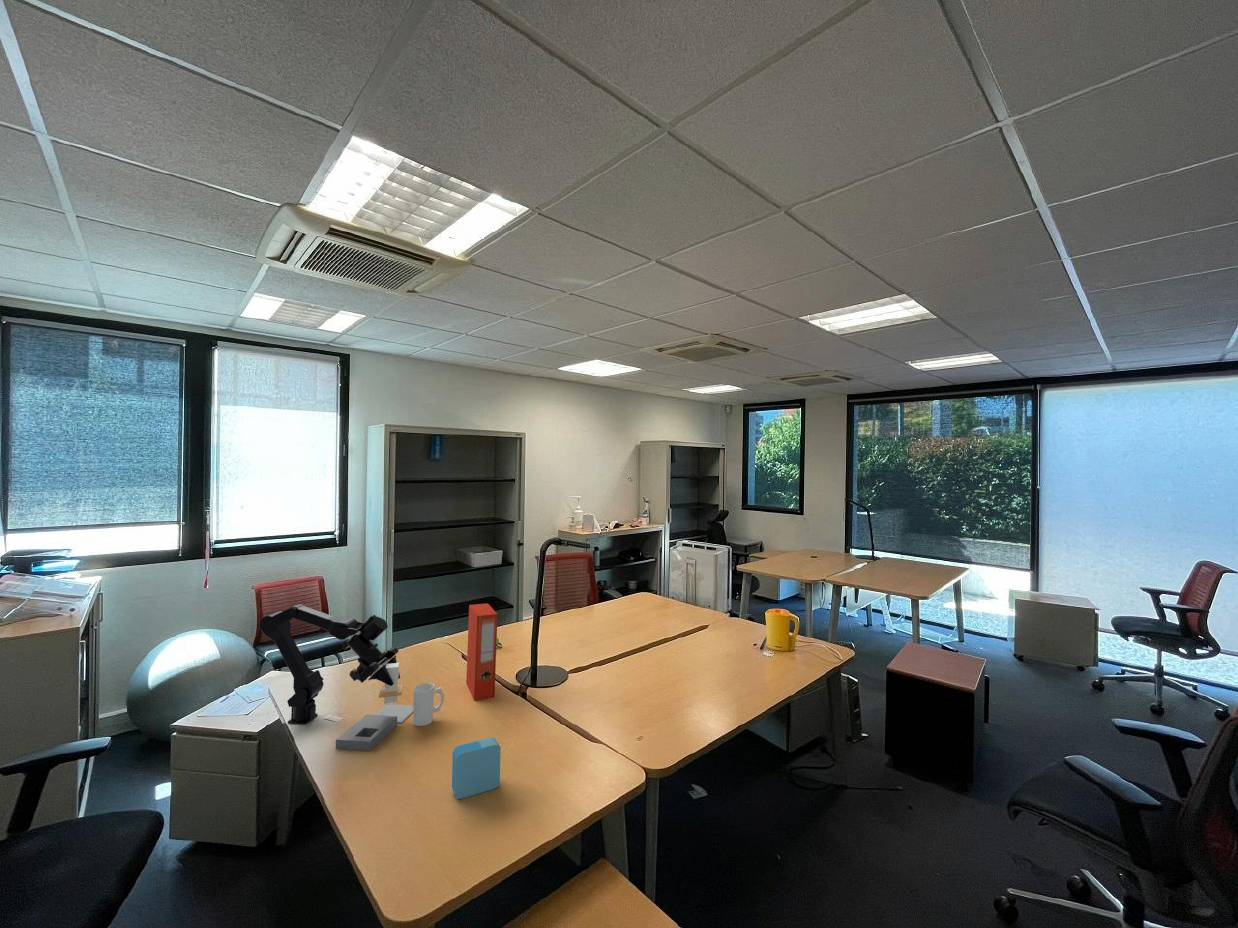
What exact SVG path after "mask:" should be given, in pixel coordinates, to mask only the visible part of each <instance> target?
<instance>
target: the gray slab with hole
mask: <svg viewBox="0 0 1238 928" xmlns="http://www.w3.org/2000/svg"><path fill="white" fill-rule="evenodd" d="M396 726H398V723H397V716H383V715H375V714H365V715H364V716H363V717H362V718H361V719H359V720H358V721H357V722H356V723H354V724H353V725H352V726H350V728H349V729H347V730H346V731H345V732H344V733H342V734H341V735H339V737H337V738H336V739H335V749H336V750H348V751H361V752H362V751H364V752H365V751H366V752H370V751H372V749H373V748H375V747H376V746H377V744H379V743H380V742H381V741H382V740H383V739H384V738H385V737H386V736H387V735H388V734H389V733H390V732H392V730H393V729H395V728H396Z"/></svg>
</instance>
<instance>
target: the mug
mask: <svg viewBox="0 0 1238 928" xmlns="http://www.w3.org/2000/svg"><path fill="white" fill-rule="evenodd" d="M435 686H436V685H435V684H434V683H432V682H422V683H419V684H417V685H415V686H414V687H413V713H412V715H413V717H412V718H413V720H412V721H413V722H412V724H413V725H414V726H417V727H423V726H428V725H429V724H431V723H432V722H433V720H434V714H435V713H436V712H441V708H442V706H443V704H444V700H445V694H444V692H443V690H442V687H436V688H435ZM435 694H439V696H440V702H439V704H438V705H437V706H434V702H435Z"/></svg>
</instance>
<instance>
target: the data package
mask: <svg viewBox="0 0 1238 928" xmlns="http://www.w3.org/2000/svg"><path fill="white" fill-rule="evenodd" d="M501 750H502V749H501V745H500V744H499V742H498V741H497V739H496V738H495V737H488V738H483V739H481V740H475V741H471V742H467V743H464V744H460V745H457V746H455V747H454V748H453V751H452V763H451V764H452V765H451V769H452V770H451V788H452V792H453V794H454V797H455V799H458V800H462V799H465V798H469V797H473V796H476V795H478V794H482V793H485V792H488V791H492V790H494V789H496V788H498V786H499V785H500V783H501V781H500V780H501Z"/></svg>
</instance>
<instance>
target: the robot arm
mask: <svg viewBox="0 0 1238 928" xmlns="http://www.w3.org/2000/svg"><path fill="white" fill-rule="evenodd" d="M293 619H295V620H299V621H301V622H303V623H306V624H309V625H312V626H316V627H318V628H321V629H323V630H325V631H327V632H328V634H329V635H330V636H331V637H334V638H335V639H337V640H339V641H342V640H343V642H342V643H343V646H342V650H343V651H345V650H346V649H349V648H350V649H351V651H353V652H354V653H355V654H356V655H357V656H358V657H359V658H357V662H358V663H359V665H358V666H357V667H356V668H353V669H352V670H350V672H349V677H350V678H351V679H352V681H353V682H356V681H359V682H360V683H361V684H363V683H364V682H365V681H371V680H376V681H377V680H378V682H382V683H384V684H385V683H386V684H388V685H390V686H392V685H393V684H394V683H393V681H392V679H391V677H390V675H389V673H388V671H387V669H386V664H392V663H398V662H397V654H398V653H399V649H398V648H397V647H390V648H389V649H388V650H386V651H383V652H382V651H381V650H380V649H379V648H378V646H379V644H378V643H375V644H374V643H373V641H375V640H376V639H378V637H379V636H381V635H382V634H383V633H384V632H385V631H386V630H387V629H388V627H389V625H388V623H387V621H386V620H385V619H384V618H382V617H380V616H377V615H376V614H372V615H371V616H370V617H369V618H368V619H367V620H366V621H365V622H364V621H359V620H357V619H356V618H353V617H345V616H333V615H331V614H327V613H326V612H325V613H324V612H323V611H319V610H316V609H314V608H311V607H307V606H305V605H304V604H301V603H298V604H295V605H293V606H290V607H289V608H288V609H286V610H283V611H281V610H279V611H276V612H273V613H271V614H268V615H266V616H263V617H262V618H261V619H260V622H259V624H258V627H259V629H260V631H261V632H262V633H263V634H264V635H265V638H268V639H270V640H271V641H273V642H274V643H275V645H276V647H277V649H278V651H279V653H280V655H281V657H282V658H283V660H284V662H285V664H286V665H287V668H288V669H289V671H290V673H291V675H292V679H293V682H292V683H293V686H292V687H293V691H294V694H292V696H291V697H289V698H288V700H287V701H286V702H287V705H288V707H289V708H290V707H291V714H290V718H291V719H289V720H287V724H296V725H306V724H308V722H310V721H311V720H313V719H314V718H316V717H317V716H318V713H316V712H317V708H316V707H317V705H316V699H315V698H316V697H318V695H319V693H320V692H321V691H322V690H323V687H324V685H325V684H324V678H323V676H322V675H321V673H320V670H319V669H317V670H315V671H314V670H312V669H310V668H309V666H308V664H307V662H306V660H305V658H304V657H303V654H302V653H301V651H300V649H299V647H298V644H297V643H296V641H295V640H294V638H293V635H292V634H291V625H292V624H291V620H293ZM359 632H360V633H359ZM349 637H351V638H349ZM348 638H349V639H348ZM400 678H401V674H400V673H399V679H400Z"/></svg>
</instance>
